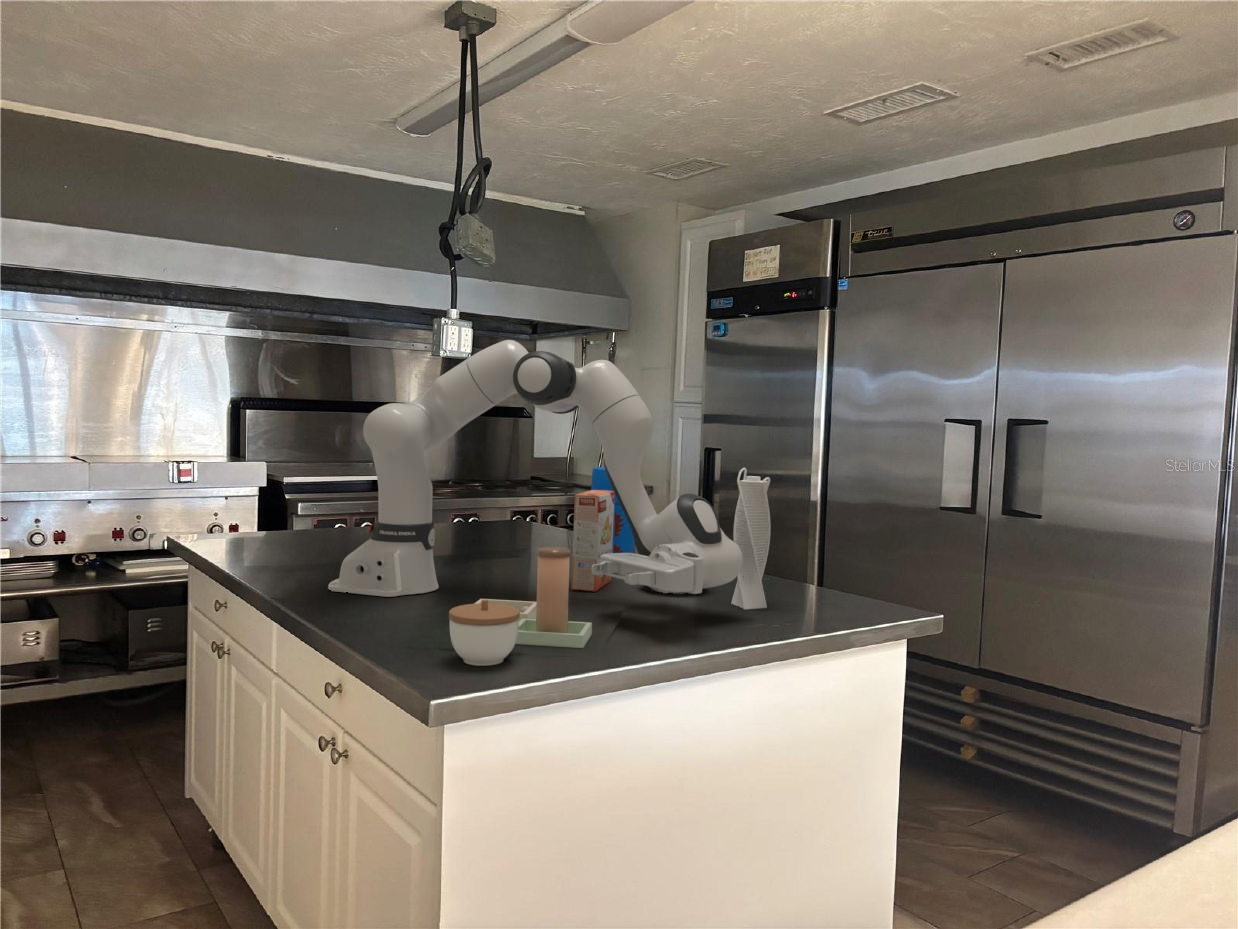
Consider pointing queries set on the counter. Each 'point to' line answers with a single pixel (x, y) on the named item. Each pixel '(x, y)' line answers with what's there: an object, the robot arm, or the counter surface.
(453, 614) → the lidded jar
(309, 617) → the counter surface
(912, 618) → the counter surface
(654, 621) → the counter surface
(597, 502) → the cracker box
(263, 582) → the counter surface
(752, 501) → the skyscraper
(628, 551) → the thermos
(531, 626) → the sage tray
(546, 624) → the terracotta canister
